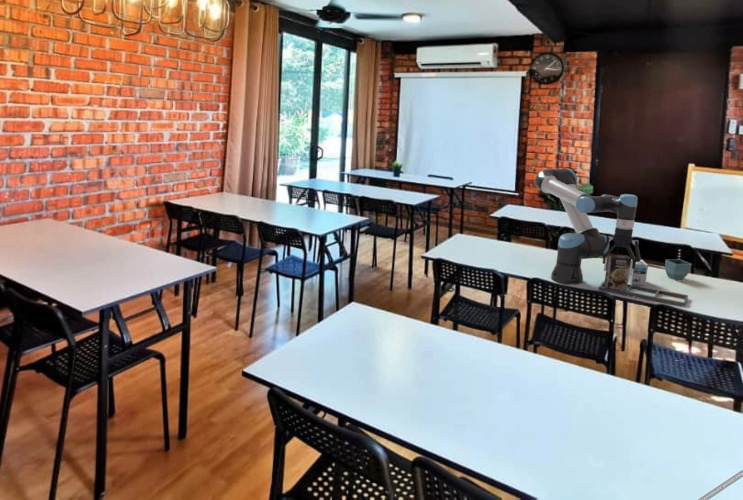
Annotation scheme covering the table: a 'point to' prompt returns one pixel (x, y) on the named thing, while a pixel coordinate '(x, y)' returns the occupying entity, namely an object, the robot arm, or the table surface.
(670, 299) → the gray sectioned tray
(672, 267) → the flower pot
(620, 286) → the brown cardboard box
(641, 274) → the light bulb box
